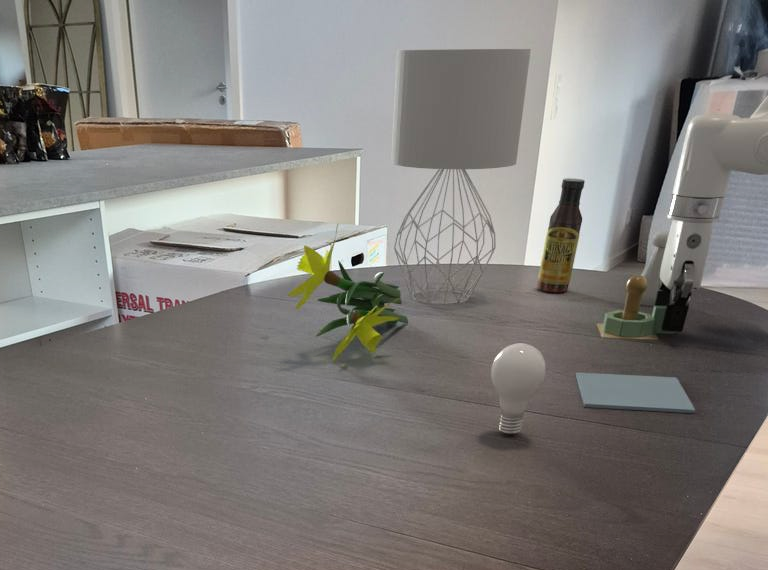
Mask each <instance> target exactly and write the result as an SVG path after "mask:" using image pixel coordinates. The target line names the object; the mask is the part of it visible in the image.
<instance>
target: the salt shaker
mask: <svg viewBox="0 0 768 570" xmlns="http://www.w3.org/2000/svg"><path fill="white" fill-rule="evenodd" d="M669 232H670V230H660V231H657V232H656V233H654V235H653V238H652V245H653V246H654V248H653V250H652V254H651V257H650V259H649V261H648V264H647V266H646V269H645V272H644V274H643V276H644V277H645V278H646V280H647V288H646V290H645V291H644V292H643V294H642V299H641V303H640V306H645V307H652V308H653V307H654V303H655V299H656V295H657V290H659V284H660V281H661V279H660V270H661V265H662V260H663V256H664V251H665V247H666V243H667V239H668V236H669ZM659 291H662V290H659Z"/></svg>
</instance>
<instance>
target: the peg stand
mask: <svg viewBox="0 0 768 570" xmlns="http://www.w3.org/2000/svg"><path fill="white" fill-rule="evenodd" d="M646 288H647V280H646V278H645V277H644V275H641V274H634V275H632V276H630V277H629V279H628V280H627V281H626V284H625V290H626V296H625V300H624V301H625V302H624V306H623V310H622V311H623V315H622V319H624V320H637V317H638V313H639V312H640V309H641V305H640V303H641V299H642V294H643V292H644V291H645V290H646ZM596 326H597V329H598V331H599V334H600V336H601V338H610V339H611V338H612V339H613V338H614V339H635V340H637V339H638V340H656V341H657V340H659V341H660V339H659V337H658V335H657V334H656V333H652V334H651V335H647V336H643V337H621V336H617V335H613V334H609V333H605V332H604V330H603V322H602V323H599V322H597V323H596Z"/></svg>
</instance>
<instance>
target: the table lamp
mask: <svg viewBox="0 0 768 570" xmlns="http://www.w3.org/2000/svg"><path fill="white" fill-rule="evenodd" d="M531 51H532V48H468V49H467V48H462V49H460V48H458V49H457V48H455V49H454V48H453V49H452V48H451V49H450V48H449V49H445V48H444V49H399V50H396V63H395V81H394V83H395V84H394V101H393V116H392V117H393V119H392V137H391V139H392V140H391V155H390V164H392V165H394V166H399V167H406V168H412V169H413V168H415V169H429V170H431V169H432V170H437V171H436V172H435V173H434V175H433V176H432V177H431V179H430V181H429V182H428V183H427V185H426V186H425V187H424V189H423V190H422V192H421V193H420V195H419V196H418V198H417V199H416V200H415V202H414V203H413V204H412V206H411V208H410V209H409V210H408V212H407V213H406V214H405V216H404V218H403V220H402V222H401V225H400V227H399V229H398V231H397V234H396V238H395V242H394V246H393V249H394V253H395V256H396V259H397V261H398V265H399V268H400V270H401V273H402V276H403V279H404V281H405V284H406V287H407V290H408V292H409V296H410V298H411V299H413V300H415V301H417V302H420V303H425V304H431V305H432V304H433V305H456V304H461V303H464V302H467V301H468V302H469V299H470V297H471V296H472V294H473V292H474V290H475V288H476V287H477V285H478V283H479V281H480V279H481V277H482V275H483V274H484V272H485V270H486V268H487V266H488V264H489V263H490V260H491V258H492V257H493V254H494V252H495V250H496V233H495V228H494V225H493V224H494V223H493V221H492V217H491V214H490V213H489V211H488V209H487V208H486V205H485V203H484V202H483V199H482V198H481V196H480V194H479V192H478V190H477V189H476V186H475V185H474V182H473V180H472V179H471V178H470V176H469V175H470V174H468V172H467V170H486V169H500V168H508V167H513V166H516V165H517V160H518V153H519V144H520V138H521V137H520V136H521V128H522V123H523V122H522V121H523V113H524V104H525V97H526V90H527V81H528V74H529V68H530V67H529V65H530V57H531ZM445 170H446V171H445ZM444 171H445V174H444V177H443V180H442V184H441V187H440V190H439V193H438V197H437V200H436V203H435V206H434V209H433V213H432V216H431V217H430V218H428V219H426V221H424V222H422V224H420V222H421V219H422V216H423V213H424V210H425V209H426V207H427V205H428V202H429V201H430V199H431V197H432V195H433V193H434V191H435V189H436V187H437V185H438V184H439V181H440V179H441V177H442V175H443V173H444ZM451 171H452V216H451V215H450V214H449V213H448V212H447V211H446V210H444V206H445V201H446V196H447V192H448V185H449V180H450V176H451ZM455 171H456V178H457V184H458V191H459V197H460V203H461V204H460V205H461V210H462V223H460V222H459V221H458V220H456V219H455ZM447 174H448V175H447ZM462 174H463V175H462ZM459 176H460V177H459ZM463 177H464V178H463ZM446 178H447V181H446V185H445V191H444V197H443V201H442V205H441V206H442V207H441V209H440V210H439V211H438V212H437V213H436V210H437V207H438V203H439V201H440V197H441V194H442V190H443V188H444V184H445V180H446ZM460 179H461V182H462V186H463V189H464V193H465V196H466V200H467V203H468V207H469V210H470V214H471V217H472V219H470V220H469V221H468V222H467V223H466V224H465V211H464V204H463V197H462V190H461V185H460V183H461V182H460ZM464 179H465V182H466V184H467V187H468V189H469V191H470V194H471V196H472V198H473V201H474V203H475V206H476V208H477V210H478V213H477V214H476V215H475V216H474V213H473V210H472V206H471V203H470V199H469V195H468V192H467V188H466V185H465V182H464ZM432 182H433V184H432V185H431V183H432ZM430 185H431V187H430ZM429 187H430V189H429V190H428V192H427V194H426V195H425V198H424V199H423V201H422V203H421V205H420V207H419V208H418V210H417V212H416V214H415V215H414V217H413V216H412V214H411V213H412V211H413V210H414V208H415V207H416V205H417V204H418V203H419V201H420V199H422V197H423V196H424V194H425V192H426V191H427V189H428V188H429ZM428 196H429V197H428ZM478 204H479V205H478ZM479 206H480V208H481V210H482V212H483V214H484V215H483V214H482V212H481V210H480V208H479ZM421 209H422V210H421ZM420 211H421V212H420ZM419 213H420V216H419V219H418V222H416V220H415V219H416V218H417V217H418V214H419ZM443 213H444V214H445V215H446V216H447V217H449V218H450V219H452V222H451V223H450V224H449V225H447V226H446V227H445V228H443V229H441V226H442V225H441V224H442V218H443ZM439 214H440V219H439V224H438V233H436V234H435V235H434V236H433V237H431V238H429V235H430V232H431V227H432V224H433V219H434V217H436V216H437V215H439ZM478 216H479V217H480V222H481V227H482V229H481V232H480V233H479V236H478V232H477V225H476V220H475V219H476V218H477V217H478ZM484 216H485V217H484ZM409 217H410V219H411V221H410V222H409V223H408V224H407V225H406V223H407V221H408V219H409ZM429 221H430V224H429V227H428V232H427V236H426V237H425V235H424V234H423V232H422V230H421V229H420V228H421V227H422V226H424V225H425V224H426V223H428V222H429ZM472 222H473V226H474V233H475V238H474V237H473V236H471V235H470V234H469V233H468V232H467V231H465V228H466V227H467V226H469V224H470V223H472ZM413 225H414V226H415V229H416V230H415V236H414V241H413V242H412V245H411V247H410V250H409V252H408V255H407V257H406V247H407V242H408V238H409V235H410V232H411V230H412V227H413ZM486 225H487V227H488V228H489V232H490V237H491V249H490V251H488V252H487V253H486V254H484V255H483V256H482V257H481V258H480V259H479V257H480V255H481V252H482V251H483V248H484V245H485V227H486ZM409 226H410V227H409ZM451 226H452V241H451V249H449V251H446V252H445V253H444V254H443V255H442V256H441V257H439V252H440V250H439V249H440V235H441V233H443V232H444V231H446V230H447V229H448V228H449V227H451ZM455 226H456V227H457V228H458V229H459V230H461V231H462V240H460V242H458V243H457V244H456V245H454V241H455V240H454V239H455ZM408 227H409V229H408V232H407V235H406V237H405V241H404V247H403V250H402V247H401V240H402V239H401V238H402V234H403V231H405V229H406V228H408ZM418 231H419V233H420V235H421V237H422V238H423V240H424V241H425V246H423V245H422V244H421V243H420V242H419V241H418V240H417V234H418ZM465 235H467V236H468V237H469V238H470V239H472V240H473V242H474V243H476V255H475V256H474V257H473V255H472V254H471V252H470V250H469V248H468V246H467V244H466V242H465ZM436 237H437V258H436V256H435V255H433V254H432V253H431V252H430V251H429V250H428V249H427V248H428V243H429V242H430V241H432V240H433V239H435V238H436ZM481 237H482V245H481V248H480V250H479V241H480V239H481ZM398 238H399V239H398ZM397 242H398V247H399V250H400V253H399V252H398V250H397V248H396V246H397ZM417 244H418V245H419V247H421V248H422V249H423V250H424V256H423V257H422V258H421V259H419V253H418V247H417V246H418V245H417ZM459 245H461V246H460V249H459V254H458V259H457V262H456V267H455V271H454V272H453V273H451V268H452V263H453V255H454V249H456V248H457V247H458V246H459ZM414 246H415V254H416V259H417V263H416V265H415V266H413V268H411V270H410V268H409V265H408V260H409V258H410V255H411V253H412V250H413V248H414ZM463 246H465V249H466V250H467V252H468V254H469V256H470V260H469V261H467V262H466V263H465V264H463V265H461V267H459V263H460V259H461V254H462V249H463ZM450 252H451V257H450V263H449V269H448V275H447V273H445V272H444V269H443V268H442V265H441V263H440V260H442V259H443V258H444V257H445V256H447V255H448V254H449V253H450ZM400 254H401V255H400ZM427 254H429V255H430V256H431V257H432V258H433V259H435V260H436V262H435V263H434V262H433V261H431V259H429V258H428V257H427ZM489 254H490V255H489ZM488 255H489V258H488V259H487V261H486V263H485V265H484V267H483V269H482V265H481V261H482V260H483V259H484V258H486V257H487V256H488ZM422 261H424V273H425V286H424V283H423V277H422V272H421V266H420V263H421V262H422ZM427 261H428V262H429V263H430V264H432V266H433V268H432V271H431V273H430V275H429V277H428V271H427ZM471 262H473V264H472V266H471V267H470V269H468V271H467V272H466V273H465V274H464V275H463V276H462V277H461V278H460V280H458V282H457V283H456V284H455V279H456V275H457V273H458V272H459V271H460V270H461V269H463V268H465V267H466V266H467V265H469V264H470V263H471ZM401 263H402V264H401ZM477 264H478V266H479V269H480V272H481V273H480V274H479V275H478V277H477V278H476V279H475V280H474V275H475V271H476V266H477ZM402 265H403V267H404V270H405V273H404V270H403V267H402ZM416 267H418V271H419V279H420V283H419V282H418V280H417V279H416V277H415V276H414V274H413V273H412V272H413V271H414V270H415V269H416ZM458 267H459V268H458ZM435 269H436V289H429V281H430V279H431V278H432V275H433V273H434V271H435ZM439 271H440V273H441V274H442V275H443V277H444V279H445V280H444V282H443V283H442V284H441V285H440V286H439V288H438V284H439ZM450 273H451V274H450ZM405 275H406V276H405ZM467 275H468V277H467ZM452 276H453V279H452V281H451V277H452ZM465 277H467V279H466V281H465V283H464V287H463V289H462V291H457V290H456V291H455V288H456V287H457V286H458V285H459V284H460V283H461V282H462V281H463V279H464V278H465ZM471 277H472V278H471ZM470 279H471V281H470ZM469 281H470V287H469V288H468V289H467V290H466V288H467V286H468V284H469ZM473 281H474V282H473ZM413 282H414V283H413ZM445 284H446V287H445V289H442V287H443V286H445ZM454 284H455V285H454ZM414 285H416V287H417V288H418V289H419V291H416V289H415V286H414ZM448 288H449V289H448ZM465 291H466V292H465ZM430 292H435V293H434V294H433V295H432V297H431V299H430ZM438 292H445V293H444V299H443V302H435V301H433V299H434V298H435V296H436V295H437V294H438ZM425 293H427V296H426V294H425ZM447 293H453V294H454V298H455V299H456V301H455V302H452V301H451V302H446V298H447ZM467 293H468V294H467ZM418 294H422V295H423V297H424V299H425V300H420V299H418V296H417V295H418ZM457 294H460V296H459V299H458V296H457ZM464 297H467V298H466V299H464ZM463 299H464V300H463Z"/></svg>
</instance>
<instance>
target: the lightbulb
mask: <svg viewBox="0 0 768 570" xmlns="http://www.w3.org/2000/svg"><path fill="white" fill-rule="evenodd" d="M546 374H547V363H546V360H545V357H544V355H543V354H542V353H541V351H540V350H539V349H538V348H536V347H535V346H533V345H532V344H528V343H522V342H520V343H519V342H518V343H513V344H510V345H507V346H506V347H504V348H502V349H501V350H500V351H499V352H498V353H497V355H496V356H495V358H494V360H493V362H492V364H491V369H490V377H491V378H490V379H491V382H492V385H493V387H494V390H495V392H496V393H497V395H498V400H499V409H500V419H499V421H500V422H499V426H498V427H499V428H498V430H499V431H500V432H501V433H502V434H504V435H505V436H509V437H510V436H514V435H517V434H518V433H520V432H521V431H522V426H523V425H522V424H523V420H524V419H523V418H524V413H525V411H526V410H527V408H528V405H529V403H530V401H531V399H532V397H533V396H534V395H535V394H536V393H537V391H538V390H539V389H540V388H541V386H542V385H543V383H544V381H545V378H546Z"/></svg>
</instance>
